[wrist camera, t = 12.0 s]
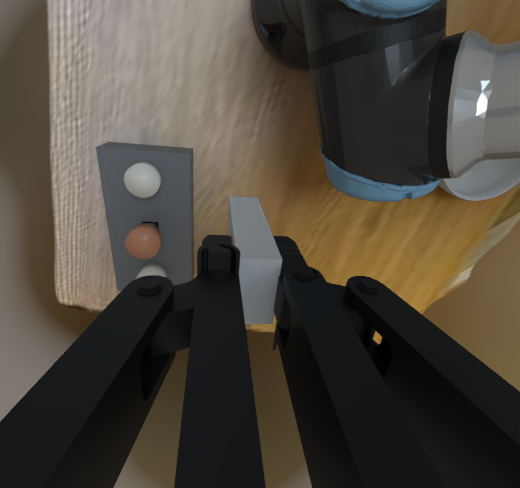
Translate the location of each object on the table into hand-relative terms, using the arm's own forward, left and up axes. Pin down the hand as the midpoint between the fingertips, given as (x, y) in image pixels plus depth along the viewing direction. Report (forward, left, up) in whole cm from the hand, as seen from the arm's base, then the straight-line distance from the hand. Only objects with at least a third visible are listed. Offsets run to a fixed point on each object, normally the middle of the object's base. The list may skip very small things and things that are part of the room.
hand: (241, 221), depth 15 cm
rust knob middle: (+11, +13, -29) cm, 34 cm away
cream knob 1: (+11, +5, -32) cm, 34 cm away
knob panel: (+11, +13, -32) cm, 37 cm away
